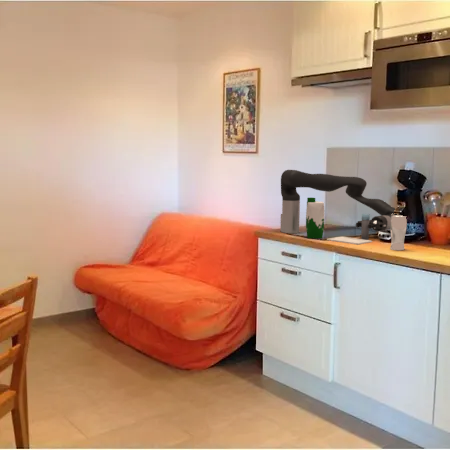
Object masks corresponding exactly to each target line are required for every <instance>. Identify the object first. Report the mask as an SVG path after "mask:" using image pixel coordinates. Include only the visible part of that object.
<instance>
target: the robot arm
mask: <svg viewBox="0 0 450 450" xmlns="http://www.w3.org/2000/svg"><path fill="white" fill-rule="evenodd" d="M343 187H346V188H345V193H346V195H347V196H348V197H349V198H352V199H353V200H355V201H356V202H358V203H361V204H362V205H364V206H366V207H368V208H370V209H372V210H373V211H375V213H377V214H379V215H376V216H373V217H372V218H371V219H370V220H369V224H368V229H369V230H370V229H371V230H373V231H376V232H380V231H386V230H390V222H391V216H392V215H397V214H394V210H395V207H393V206H392V207H391V205H390V204H389V203H387V202H386V201H385V202H384V200H382V199H381V198H380V199H379V198H368V197H364V195H363V193H364V192H365V190H366V187H367V181H366V180H365V179H364V178H362V177H358V176H340V175H333V174H328V173H327V174H326V173H308V172H304V171H300V170H297V169H296V170H295V169H287V170H284V171H283V172H282V173H281V177H280V195H281V197H282V200H281V201H282V204H281V205H282V206H281V207H282V208H281V209H282V210H281V212H282V213H280V232H281V233H284V234H285V233H286V234H298V233H300V218H301V217H300V216H301V215H300V213H301V212H300V209H301V208H300V207H301V195H300V194H299V192H297V188H309V189H313V190H314V191H315V190H316V191H319V192H329V193H330V192H334V191H336V190H339V189H341V188H343ZM392 213H393V214H392ZM391 214H392V215H391ZM355 228H362V220H358V221H357V222H355Z"/></svg>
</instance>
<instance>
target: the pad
mask: <svg viewBox="0 0 450 450" xmlns="http://www.w3.org/2000/svg"><path fill="white" fill-rule="evenodd" d="M326 240H327V241H330V240H331V242H337V243H338V242H339V243H343V244H350V245H364V244H369V243H373V240H370V239H369V240H364V239H361V238H355V237H350V236H335V237H331V238H326Z"/></svg>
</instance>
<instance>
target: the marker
mask: <svg viewBox="0 0 450 450" xmlns="http://www.w3.org/2000/svg"><path fill="white" fill-rule="evenodd" d="M370 217H371V216H370V214H369V213H362V214H361V221H362V227H361V229H360V230H361V234H360V239H364V240H370V239H369V235H370V229H368V224H369V220H371V219H370Z"/></svg>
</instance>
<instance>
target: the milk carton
mask: <svg viewBox="0 0 450 450" xmlns="http://www.w3.org/2000/svg"><path fill="white" fill-rule="evenodd" d="M305 211H306V212H305V216H306V217H305V230H306V237H307V239H318V238H322V239H323V236H324V229H325V202H324V201H317V200H316V197H307V199H306V209H305Z"/></svg>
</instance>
